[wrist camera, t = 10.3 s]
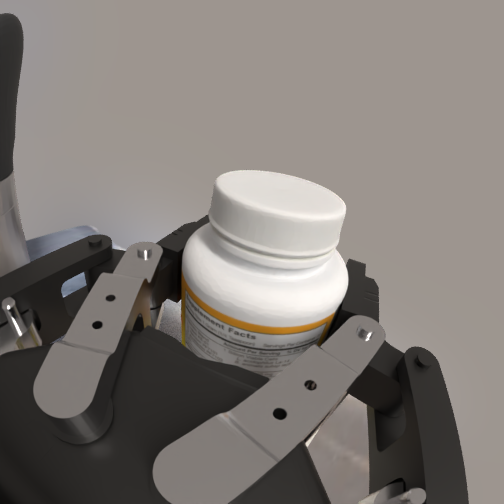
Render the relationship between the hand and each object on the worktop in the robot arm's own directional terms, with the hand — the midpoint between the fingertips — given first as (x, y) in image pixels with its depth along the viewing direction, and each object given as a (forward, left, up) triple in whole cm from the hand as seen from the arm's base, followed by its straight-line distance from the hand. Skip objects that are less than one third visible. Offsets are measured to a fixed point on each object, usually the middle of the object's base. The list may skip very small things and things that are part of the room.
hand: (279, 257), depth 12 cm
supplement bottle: (+2, -2, -7) cm, 7 cm away
